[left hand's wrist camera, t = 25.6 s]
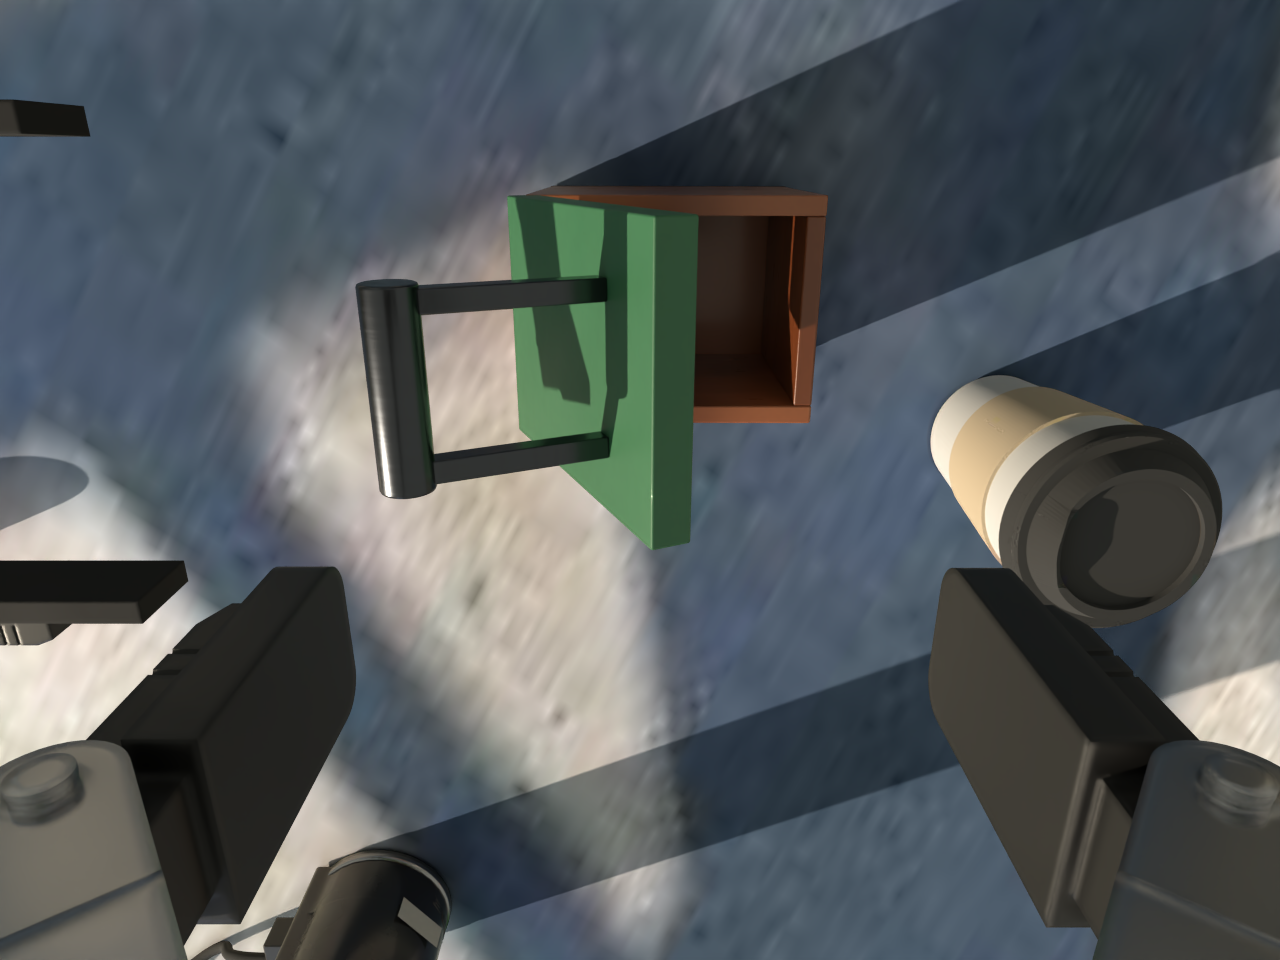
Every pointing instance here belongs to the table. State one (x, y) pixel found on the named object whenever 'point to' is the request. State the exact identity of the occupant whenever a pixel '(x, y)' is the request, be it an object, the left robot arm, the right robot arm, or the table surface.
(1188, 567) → the coffee cup
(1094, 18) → the table surface
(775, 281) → the chest
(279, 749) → the left robot arm
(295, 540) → the table surface
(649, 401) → the lid
